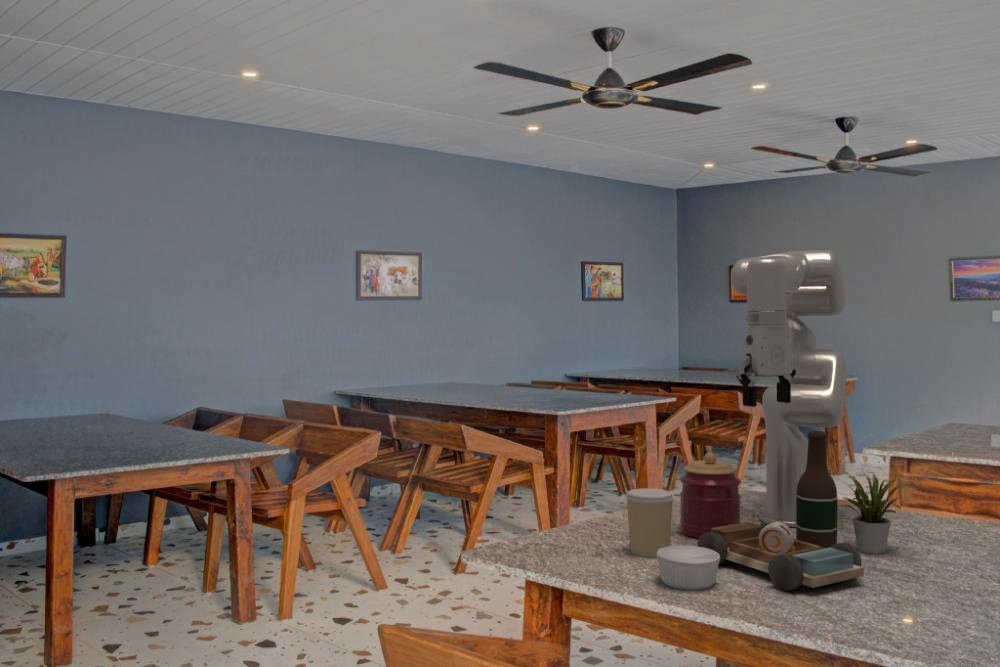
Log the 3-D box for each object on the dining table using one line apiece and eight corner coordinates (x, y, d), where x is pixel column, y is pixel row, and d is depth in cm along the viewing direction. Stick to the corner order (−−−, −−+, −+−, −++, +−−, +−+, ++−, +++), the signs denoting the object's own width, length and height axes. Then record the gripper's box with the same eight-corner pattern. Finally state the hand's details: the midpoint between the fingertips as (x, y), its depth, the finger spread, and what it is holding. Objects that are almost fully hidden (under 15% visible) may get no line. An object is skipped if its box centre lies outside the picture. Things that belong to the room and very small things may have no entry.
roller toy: (763, 549, 168) (763, 518, 168) (797, 553, 165) (797, 522, 165) (756, 554, 164) (756, 523, 164) (791, 559, 161) (791, 527, 161)
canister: (719, 524, 201) (719, 447, 200) (753, 538, 188) (753, 455, 188) (668, 529, 197) (668, 450, 196) (699, 543, 184) (699, 459, 184)
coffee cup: (678, 548, 180) (678, 490, 180) (666, 560, 171) (666, 499, 171) (633, 544, 184) (633, 486, 184) (620, 555, 175) (620, 495, 175)
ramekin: (708, 596, 150) (708, 565, 150) (646, 585, 156) (646, 556, 156) (728, 579, 159) (728, 550, 159) (669, 570, 165) (669, 542, 165)
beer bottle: (836, 546, 181) (836, 429, 181) (837, 556, 174) (838, 434, 173) (796, 543, 184) (796, 428, 183) (796, 553, 176) (796, 433, 176)
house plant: (927, 550, 178) (928, 469, 178) (903, 564, 168) (904, 479, 167) (856, 538, 188) (856, 461, 187) (829, 551, 178) (830, 470, 177)
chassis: (690, 558, 172) (690, 528, 172) (753, 547, 181) (753, 517, 181) (804, 598, 148) (804, 562, 148) (871, 582, 157) (871, 549, 157)
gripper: (749, 321, 171) (750, 409, 171) (810, 319, 179) (811, 402, 180) (721, 320, 177) (722, 405, 178) (782, 318, 186) (782, 399, 187)
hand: (766, 404), depth 179 cm, fingers open, 9 cm apart
